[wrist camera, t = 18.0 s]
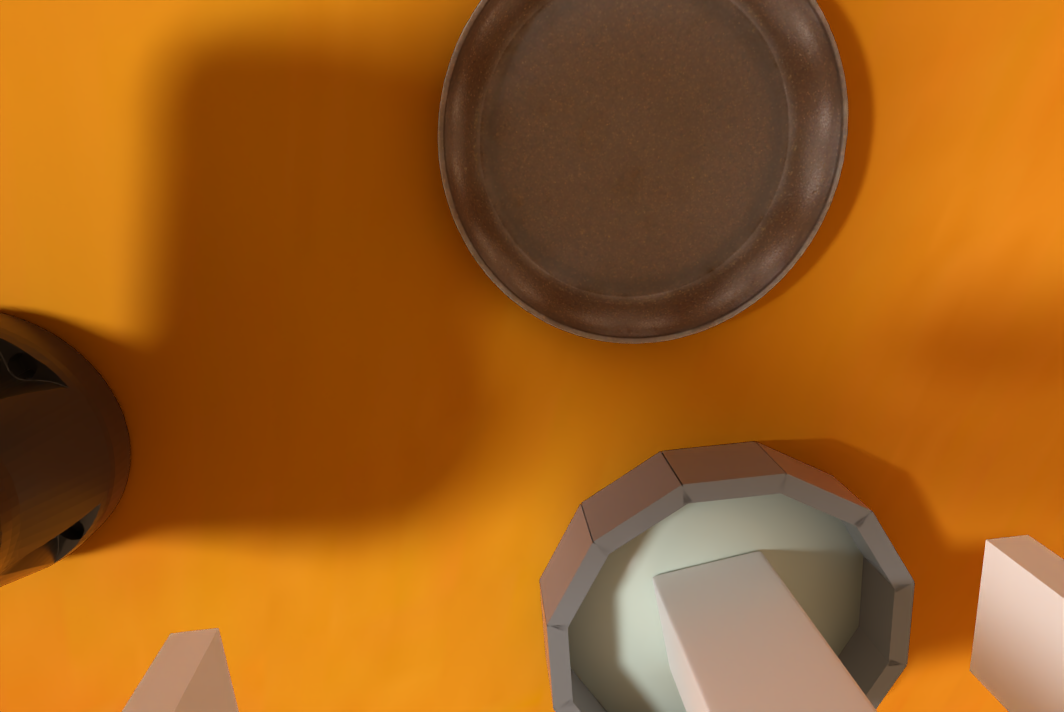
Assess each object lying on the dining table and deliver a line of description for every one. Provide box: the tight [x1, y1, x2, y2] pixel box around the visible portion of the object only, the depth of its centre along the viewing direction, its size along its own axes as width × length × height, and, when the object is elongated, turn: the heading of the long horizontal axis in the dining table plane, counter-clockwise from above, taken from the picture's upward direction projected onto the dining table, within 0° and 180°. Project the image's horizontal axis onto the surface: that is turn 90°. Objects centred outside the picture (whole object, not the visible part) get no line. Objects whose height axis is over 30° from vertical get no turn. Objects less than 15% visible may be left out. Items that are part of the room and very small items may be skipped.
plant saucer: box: [438, 0, 848, 344], centre depth 36 cm, size 21×21×3 cm
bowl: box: [540, 441, 915, 712], centre depth 44 cm, size 22×22×4 cm
